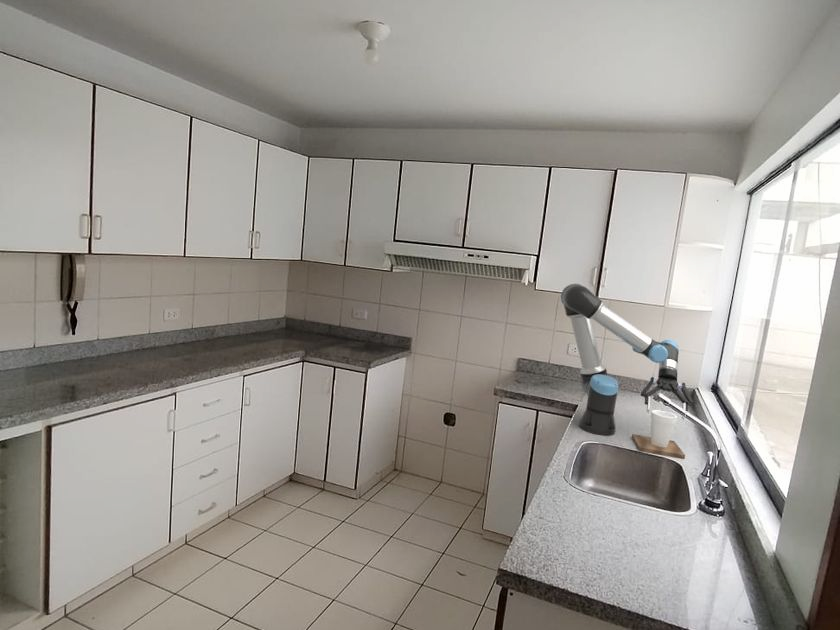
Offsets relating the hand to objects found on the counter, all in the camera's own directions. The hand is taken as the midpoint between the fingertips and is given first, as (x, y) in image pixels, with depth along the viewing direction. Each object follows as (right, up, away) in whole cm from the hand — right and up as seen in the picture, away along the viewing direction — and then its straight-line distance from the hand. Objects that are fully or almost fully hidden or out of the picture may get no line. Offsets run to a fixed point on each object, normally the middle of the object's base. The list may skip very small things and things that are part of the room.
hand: (665, 414), depth 215 cm
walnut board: (-5, -13, -3) cm, 14 cm away
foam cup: (-4, -12, -3) cm, 13 cm away
